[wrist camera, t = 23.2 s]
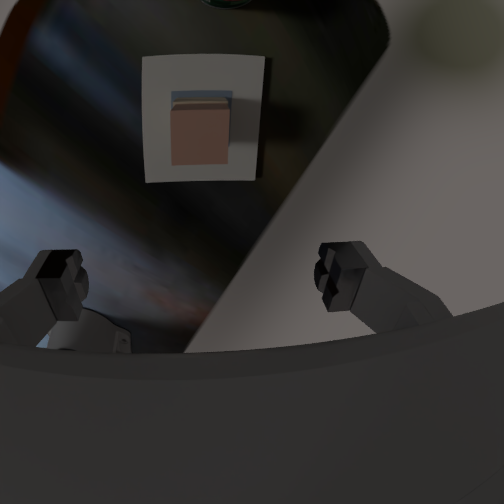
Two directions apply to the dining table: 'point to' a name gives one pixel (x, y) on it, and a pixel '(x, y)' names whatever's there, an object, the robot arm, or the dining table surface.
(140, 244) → the dining table surface
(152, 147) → the white flat square slab
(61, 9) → the dining table surface
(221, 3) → the canned tomato
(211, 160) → the terracotta block
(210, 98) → the birch block
